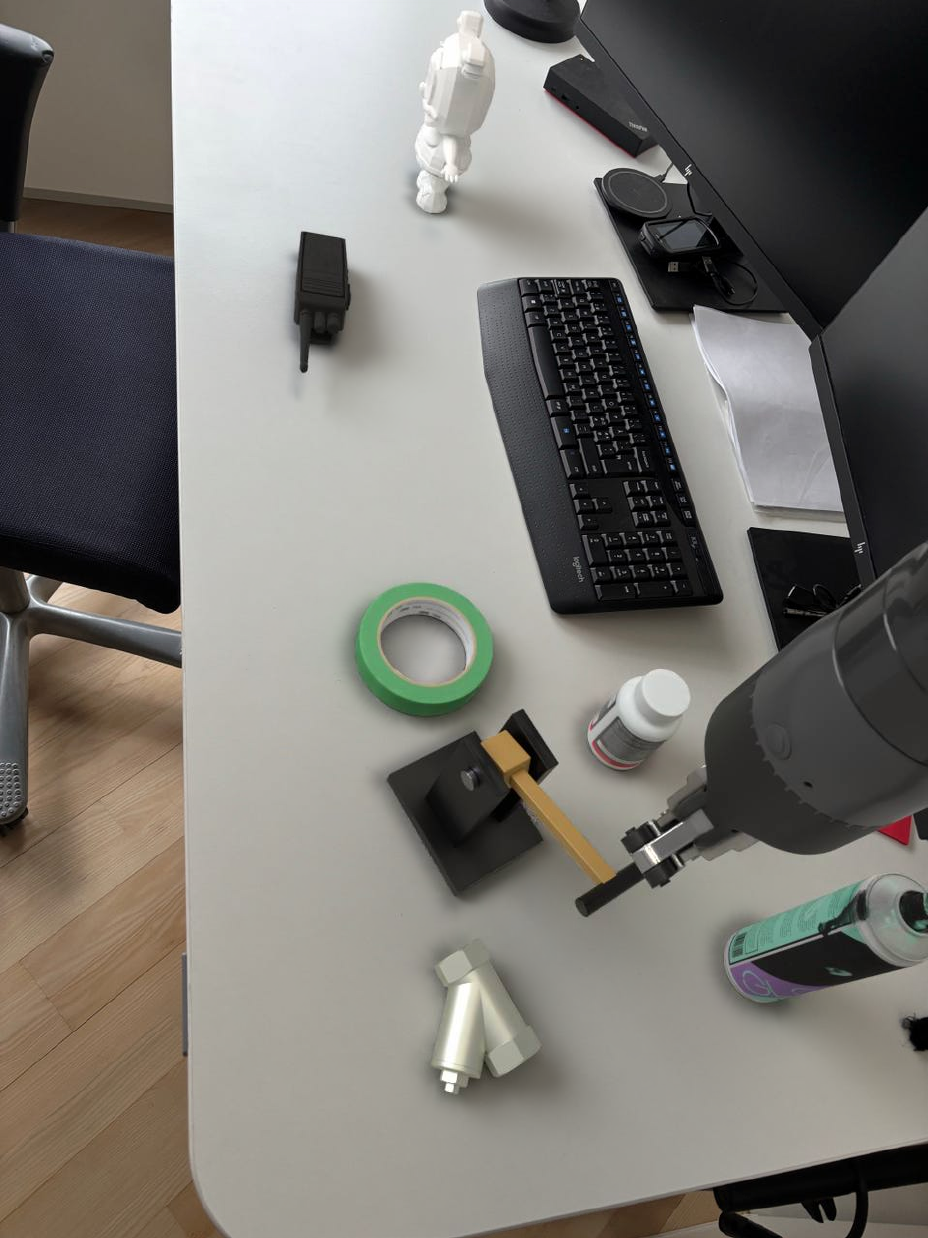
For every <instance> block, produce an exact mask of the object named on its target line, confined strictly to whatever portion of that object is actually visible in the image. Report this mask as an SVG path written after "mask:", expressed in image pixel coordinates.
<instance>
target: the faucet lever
mask: <svg viewBox="0 0 928 1238" xmlns="http://www.w3.org/2000/svg"><path fill="white" fill-rule="evenodd" d="M481 744H482V746H483V748H484V749H485V751H486V752H487V754H488V756H489V757H490V759H491V760H492V762H493V764H494V765H495V767H496V768H497V770H498V771H499V773H500V775H501V776H502V778H503V779H504V781H505V783H506V784H507V786H508V787H509V789H510V788H511V787H512V788H513V789H514V790H515V791H516V792H517V793H518V795H519V796H520V797H521V798H522V799H523V800H524V801H523V802H524V803H525V804H526V806H528V808H529V810H531V811H532V812H533V813H534V815H535V816H536V817H537V818H538V820H539V821H540V822H541V823H542V824H543V825H544V826H545V828H546V829H547V830H548V831H549V832H550V833H551V835H552V836H553V837H554V838H555V839H556V841H557V842H558V843H559V844H560V845H561V846H562V848H563V849H564V850H565V851H566V852H567V854H568V855H569V856H570V857H571V858H572V859H573V861H575V863H576V864H577V865H578V867H580V868H581V870H583V873H584V874H585V875H586V876H587V877H588V878H589V879H590V880H591V882H592V883H593V884H594V885H595V886H593V887H591V889H589V890H587V891H586V892H584V893H583V894H581V895H580V896H579V897H577V898H575V900H574V905H575V908H576V910H577V911H578V913H579V914H580V915H581V916H582V917H583V918H589V917H591V916H592V915H593V914H595V913H597V911H599V910H601V909H602V908H604V907H605V906H607V905H608V904H610V903H611V902H613V901H614V900H616V899H618V897H620V896H621V895H623V894H624V893H626V892H627V891H630V889H632V888H633V887H635V886H636V885H638V884H639V883H641V882H642V881H644V880H646V879H645V877H644V876H643V874H644V873H641V871H640V870H639V868H638V867H637V865H636V864H635V862H634V861H633V860H632V862H631V863H629V864H627V865H626V866H624V867H623V868H621V869H619V870H618V871H617V872H616V871H614V870H613V868H612V867H611V866H610V865H609V863H608V862H606V860H605V859H604V858H603V857H602V856H601V855H600V854H599V852H598V851H597V850H596V849H595V848H594V846H593V845H592V844H591V843H590V841H588V840H587V838H585V836H584V835H583V834H582V833H581V832H580V831H579V830H578V829H577V827H576V826H575V825H574V824H573V823H572V821H570V819H569V818H568V817H567V816H566V814H565V813H563V812H562V810H561V809H560V808H559V807H558V806H557V805H556V804H555V802H554V801H553V800H552V799H551V798H550V797H549V795H547V793H546V792H545V791H544V790H543V789H542V787H541V786H540V784H539V785H538V784H537V783H536V782H535V781H534V780H533V779H532V777H531V776H530V775H529V774H528V770H529V765H530V760H531V758H530V756H529V755H528V754H527V753H526V752H525V751H524V750H523V748H522V747H521V746H520V745H519V744H518V743H517V742H516V741H515V739H514V738H513V737H512V736H511V735H510V734H509V733H508V732H507V730H504V731H502V732H500V733H499V732H497V733H496V734H495V735H493V736H491V737H489V738H487V739H486V740H482V742H481Z"/></svg>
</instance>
